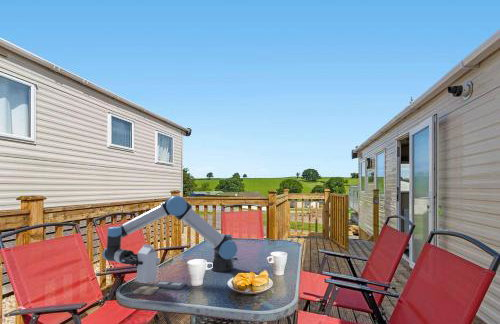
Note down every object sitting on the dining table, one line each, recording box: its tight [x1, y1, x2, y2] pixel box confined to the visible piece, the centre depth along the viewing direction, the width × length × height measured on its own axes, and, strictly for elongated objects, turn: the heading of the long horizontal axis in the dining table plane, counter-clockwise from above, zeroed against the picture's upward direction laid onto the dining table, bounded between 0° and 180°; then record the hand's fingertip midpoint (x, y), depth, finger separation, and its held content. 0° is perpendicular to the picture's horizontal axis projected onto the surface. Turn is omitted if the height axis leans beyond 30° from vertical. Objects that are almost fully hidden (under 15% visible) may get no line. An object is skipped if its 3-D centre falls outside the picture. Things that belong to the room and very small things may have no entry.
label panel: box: [153, 280, 187, 290], centre depth 174 cm, size 16×9×1 cm, turn 81°
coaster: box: [132, 285, 160, 296], centre depth 166 cm, size 10×10×1 cm
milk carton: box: [136, 243, 158, 284], centre depth 167 cm, size 7×7×19 cm
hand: (153, 262), depth 164 cm, fingers closed on milk carton, 7 cm apart
